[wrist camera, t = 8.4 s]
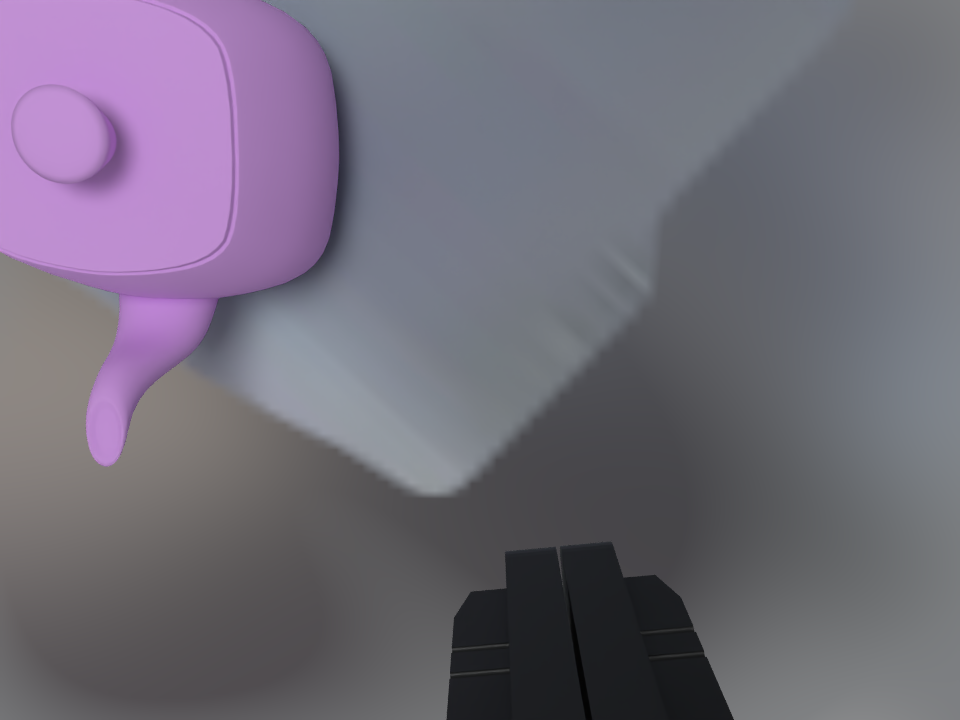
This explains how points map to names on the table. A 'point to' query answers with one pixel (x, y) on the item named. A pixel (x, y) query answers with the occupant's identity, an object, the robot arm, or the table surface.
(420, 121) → the table surface
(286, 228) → the teapot
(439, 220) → the table surface
